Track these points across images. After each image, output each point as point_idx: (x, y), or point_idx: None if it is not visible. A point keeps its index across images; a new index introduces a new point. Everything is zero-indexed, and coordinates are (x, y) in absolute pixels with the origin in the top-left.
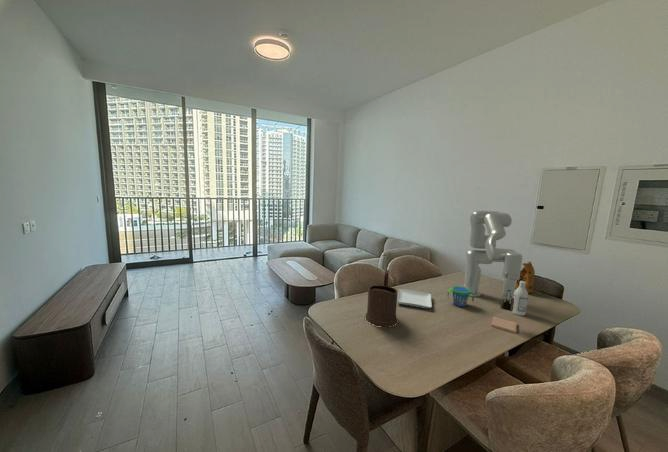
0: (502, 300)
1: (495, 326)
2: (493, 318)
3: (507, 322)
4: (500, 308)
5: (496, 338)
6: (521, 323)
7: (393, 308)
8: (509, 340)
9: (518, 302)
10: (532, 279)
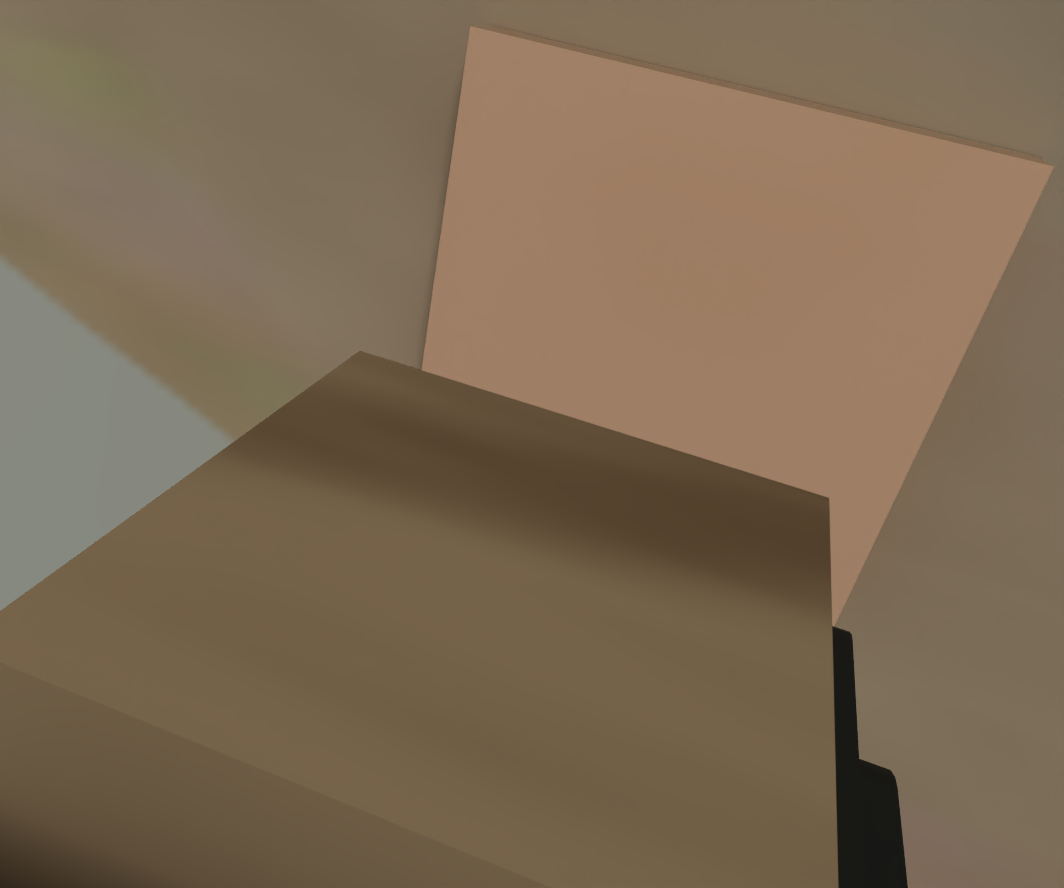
0: (63, 621)
1: (463, 118)
2: (888, 144)
3: (757, 451)
4: (359, 354)
5: (33, 52)
6: (933, 725)
7: None
8: (113, 280)
9: None
10: None
